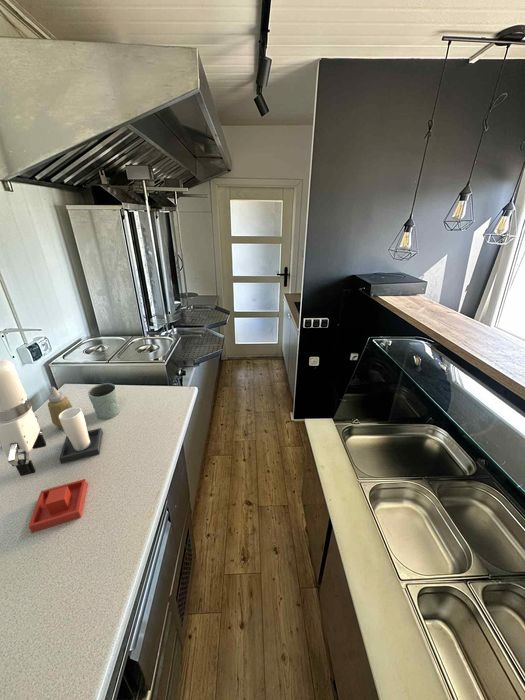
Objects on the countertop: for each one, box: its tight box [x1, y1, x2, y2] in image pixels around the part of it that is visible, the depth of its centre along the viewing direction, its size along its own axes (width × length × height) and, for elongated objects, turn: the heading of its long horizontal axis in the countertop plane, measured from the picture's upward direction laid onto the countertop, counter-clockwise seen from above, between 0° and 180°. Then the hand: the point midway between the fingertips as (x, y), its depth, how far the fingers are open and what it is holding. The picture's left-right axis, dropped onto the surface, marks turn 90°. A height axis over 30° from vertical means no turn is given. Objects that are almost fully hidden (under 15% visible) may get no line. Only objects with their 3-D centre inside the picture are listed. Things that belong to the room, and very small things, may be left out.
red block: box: [45, 486, 72, 515], centre depth 81 cm, size 4×4×4 cm
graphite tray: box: [58, 427, 104, 465], centre depth 103 cm, size 12×12×2 cm
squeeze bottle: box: [47, 386, 73, 431], centre depth 110 cm, size 8×8×18 cm
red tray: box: [28, 478, 88, 534], centre depth 82 cm, size 12×12×2 cm
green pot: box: [87, 382, 120, 421], centre depth 118 cm, size 10×10×12 cm
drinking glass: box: [59, 406, 91, 451], centre depth 100 cm, size 7×7×15 cm
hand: (34, 459), depth 77 cm, fingers open, 9 cm apart
